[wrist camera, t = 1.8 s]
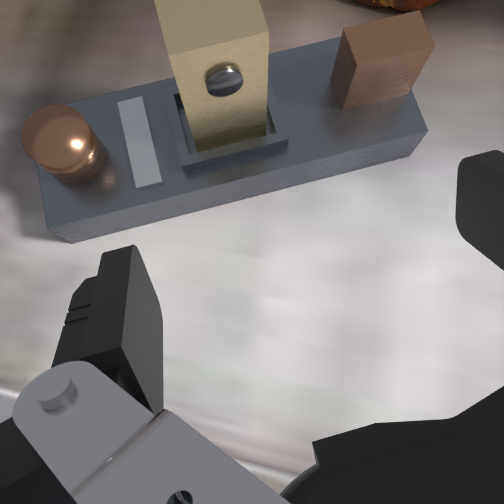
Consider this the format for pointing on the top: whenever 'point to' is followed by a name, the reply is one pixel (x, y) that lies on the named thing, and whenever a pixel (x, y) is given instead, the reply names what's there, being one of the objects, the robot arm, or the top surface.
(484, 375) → the top surface
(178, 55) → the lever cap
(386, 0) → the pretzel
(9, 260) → the top surface
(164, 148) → the plane body
